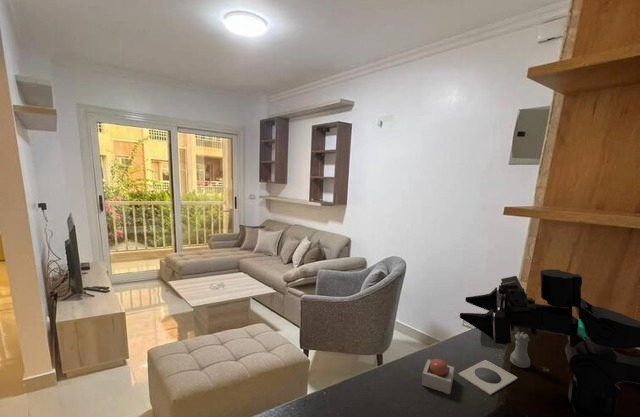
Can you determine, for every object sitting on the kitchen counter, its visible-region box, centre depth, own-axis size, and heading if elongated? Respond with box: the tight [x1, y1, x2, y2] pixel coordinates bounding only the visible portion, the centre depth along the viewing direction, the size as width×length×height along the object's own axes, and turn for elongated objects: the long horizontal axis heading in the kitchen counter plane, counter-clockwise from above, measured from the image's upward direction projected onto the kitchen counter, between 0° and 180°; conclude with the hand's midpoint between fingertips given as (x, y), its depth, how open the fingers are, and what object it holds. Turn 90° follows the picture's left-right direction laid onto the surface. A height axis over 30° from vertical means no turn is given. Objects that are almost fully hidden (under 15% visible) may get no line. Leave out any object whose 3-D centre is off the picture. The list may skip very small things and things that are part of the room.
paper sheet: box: [457, 359, 518, 396], centre depth 74 cm, size 11×8×1 cm
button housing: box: [421, 358, 455, 395], centre depth 72 cm, size 6×6×3 cm
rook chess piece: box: [509, 331, 531, 369], centre depth 78 cm, size 4×4×8 cm
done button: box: [430, 358, 448, 378], centre depth 72 cm, size 4×4×2 cm
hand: (462, 307), depth 75 cm, fingers open, 9 cm apart
